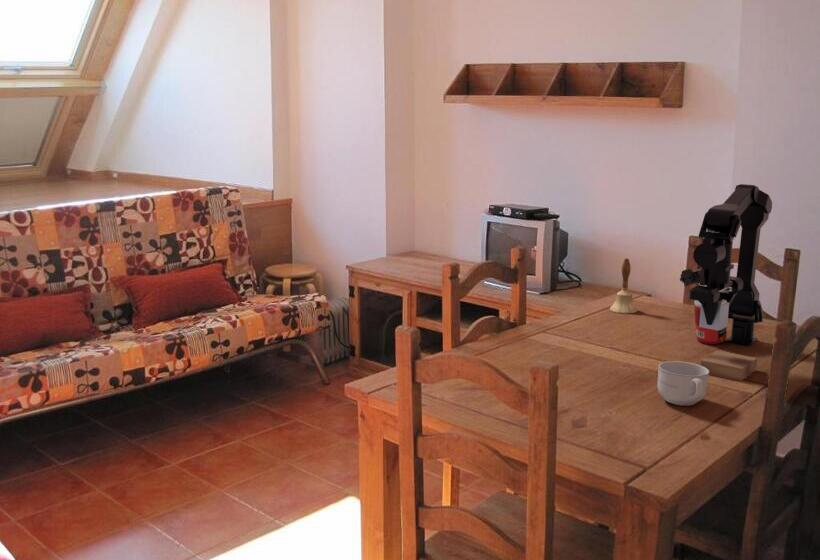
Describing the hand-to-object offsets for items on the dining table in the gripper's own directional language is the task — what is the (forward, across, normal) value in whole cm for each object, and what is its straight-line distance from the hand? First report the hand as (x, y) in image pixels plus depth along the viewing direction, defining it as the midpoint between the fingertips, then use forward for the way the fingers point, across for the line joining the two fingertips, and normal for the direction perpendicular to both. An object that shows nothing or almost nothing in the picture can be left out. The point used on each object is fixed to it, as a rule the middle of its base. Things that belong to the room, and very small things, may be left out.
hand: (713, 322), depth 222 cm
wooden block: (+12, +1, +5) cm, 13 cm away
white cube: (+1, 0, 0) cm, 1 cm away
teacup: (+12, +28, +6) cm, 31 cm away
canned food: (+11, -20, -8) cm, 24 cm away
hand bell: (+11, -32, -41) cm, 54 cm away
